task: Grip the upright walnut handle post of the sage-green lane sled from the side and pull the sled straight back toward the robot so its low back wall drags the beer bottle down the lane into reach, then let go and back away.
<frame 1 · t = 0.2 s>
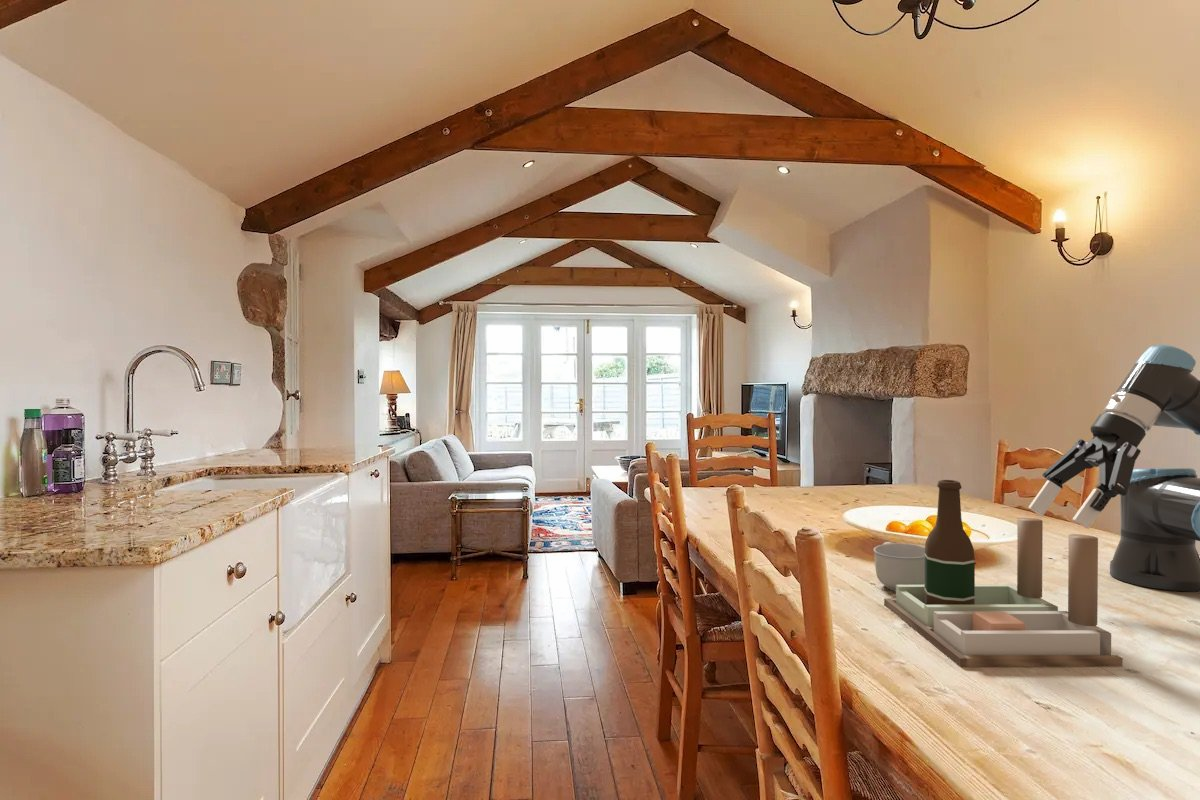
hand: (1056, 517, 121), 16 cm above the table, tool tilted 35°, fingers open, 13 cm apart
beer bottle: (948, 620, 113), resting in bottle sled
bottle sled: (975, 569, 112), point 9 cm above the table, slide at 0.0 cm
terracotta cube: (998, 649, 100), resting in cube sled
lane rails: (991, 631, 107), on the table
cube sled: (1021, 592, 100), point 9 cm above the table, slide at 0.0 cm
teacup: (901, 587, 131), on the table
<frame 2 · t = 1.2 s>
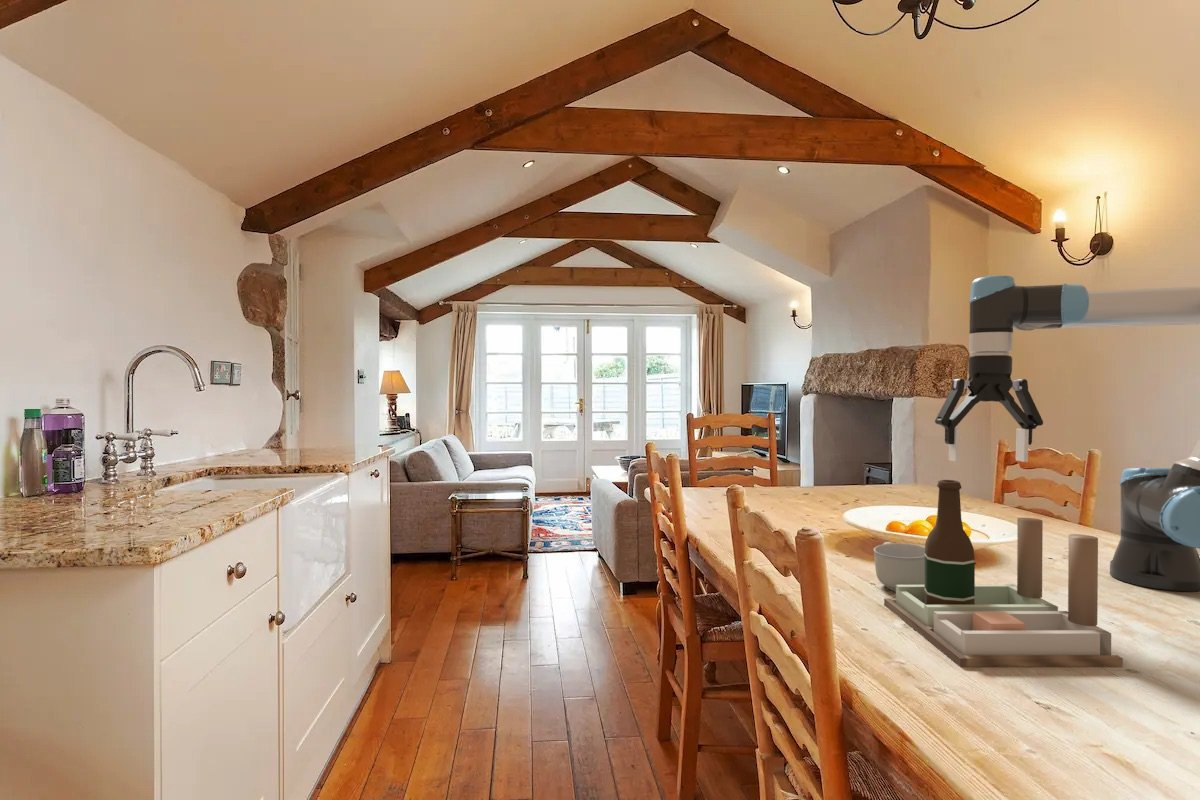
hand: (987, 461, 131), 25 cm above the table, tool pointing down, fingers open, 13 cm apart
nothing on the table moved.
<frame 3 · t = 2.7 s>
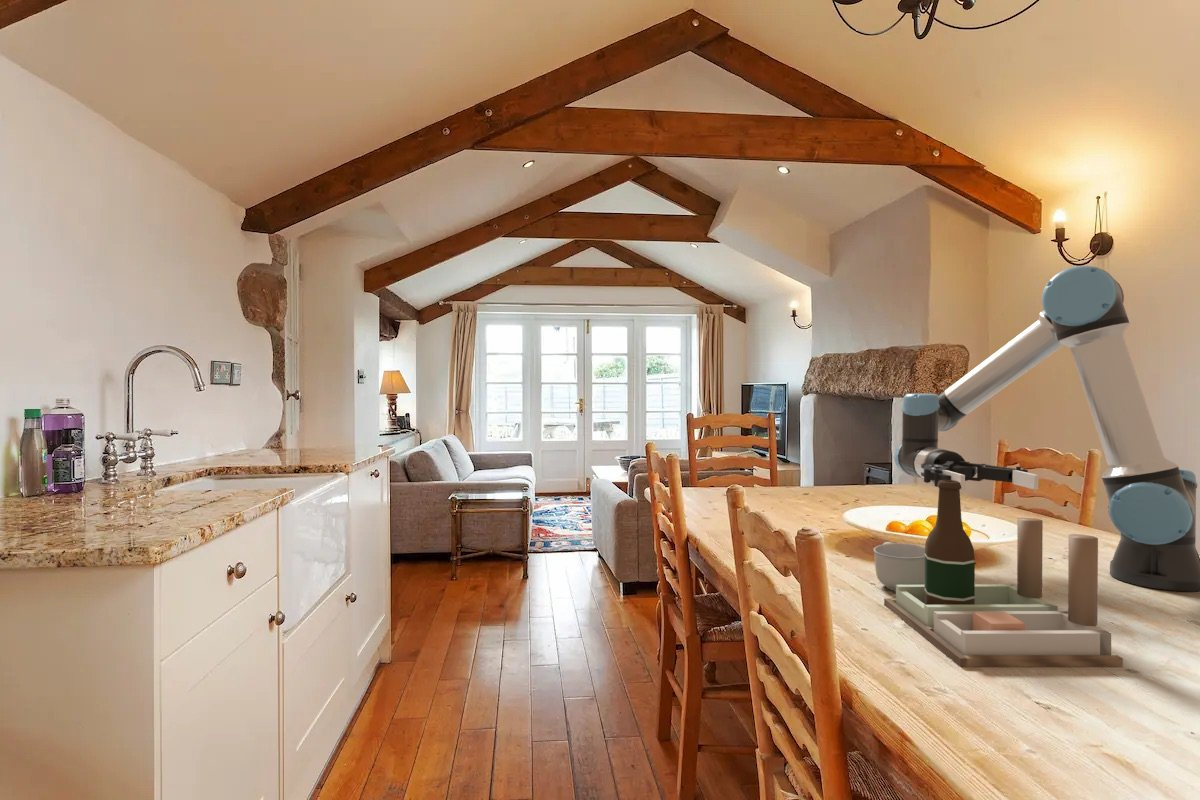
hand: (999, 482, 121), 22 cm above the table, tool horizontal, fingers open, 13 cm apart
nothing on the table moved.
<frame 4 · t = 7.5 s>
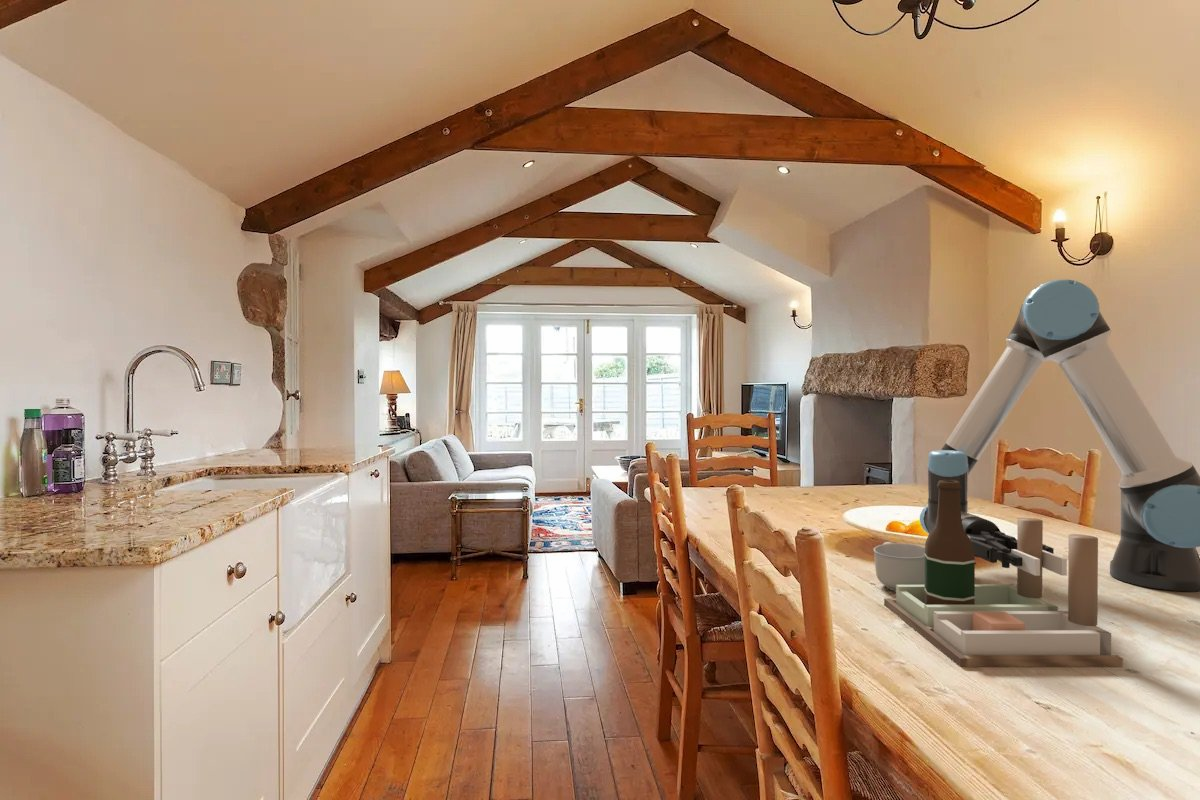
hand: (1050, 567, 107), 10 cm above the table, tool horizontal, fingers closed on bottle sled, 4 cm apart
bottle sled: (975, 569, 112), point 9 cm above the table, slide at 0.0 cm, touching gripper
everything else where it was.
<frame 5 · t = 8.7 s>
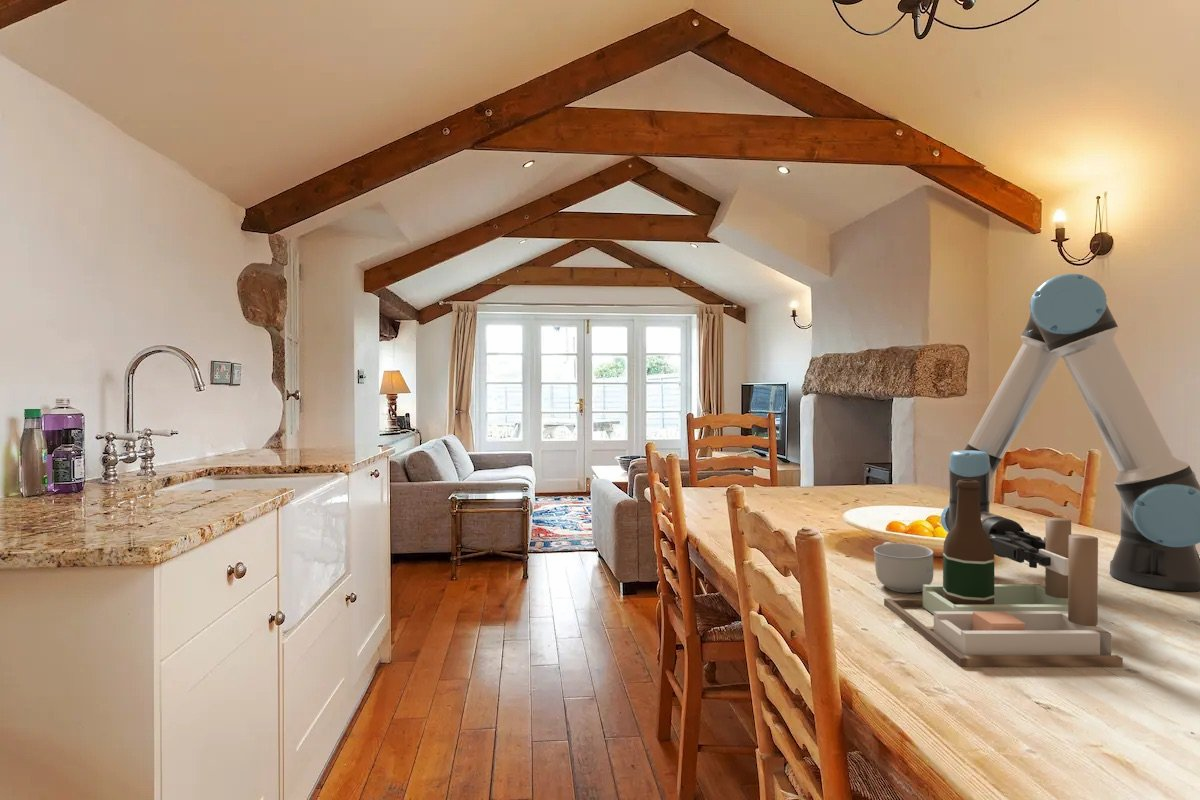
hand: (1080, 567, 107), 10 cm above the table, tool horizontal, fingers closed on bottle sled, 4 cm apart
beer bottle: (968, 620, 113), resting in bottle sled
bottle sled: (1003, 569, 112), point 9 cm above the table, slide at 4.8 cm, touching gripper, beer bottle
everything else where it was.
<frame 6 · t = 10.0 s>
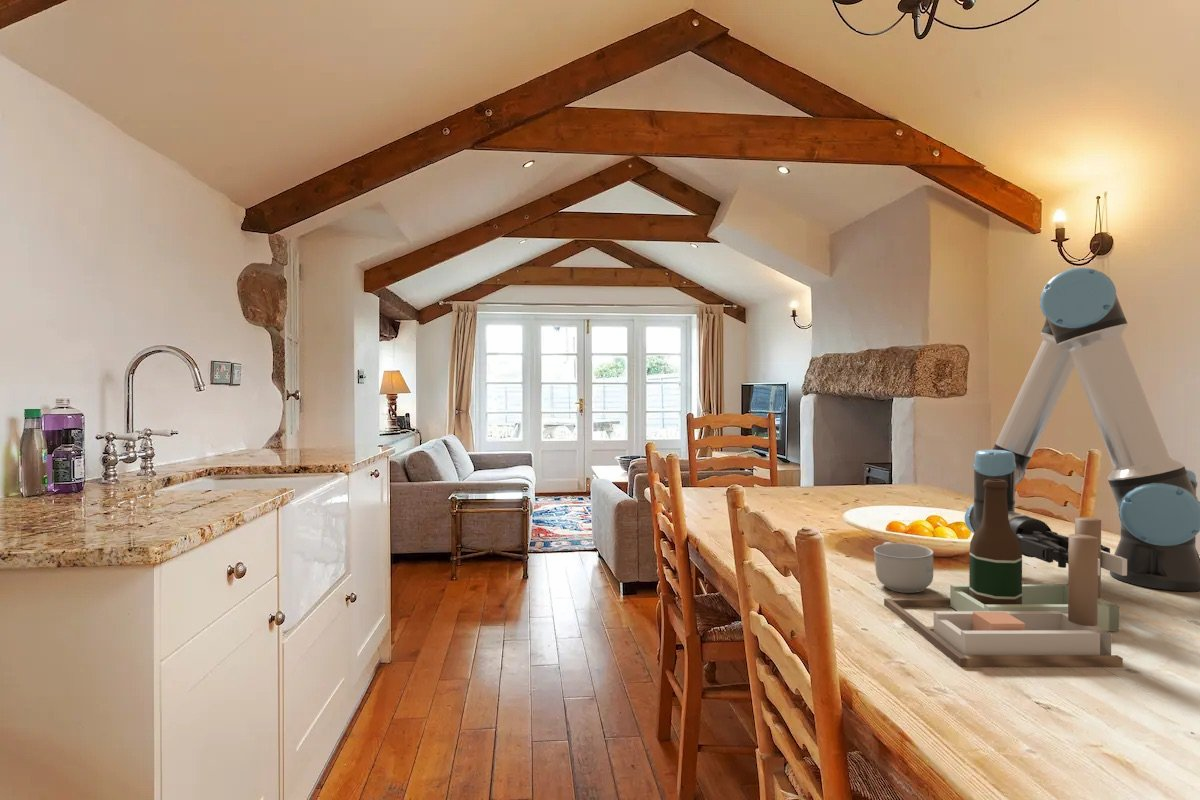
hand: (1110, 567, 107), 10 cm above the table, tool horizontal, fingers closed on bottle sled, 4 cm apart
beer bottle: (995, 619, 113), resting in bottle sled
bottle sled: (1033, 568, 112), point 9 cm above the table, slide at 9.8 cm, touching gripper, beer bottle
everything else where it was.
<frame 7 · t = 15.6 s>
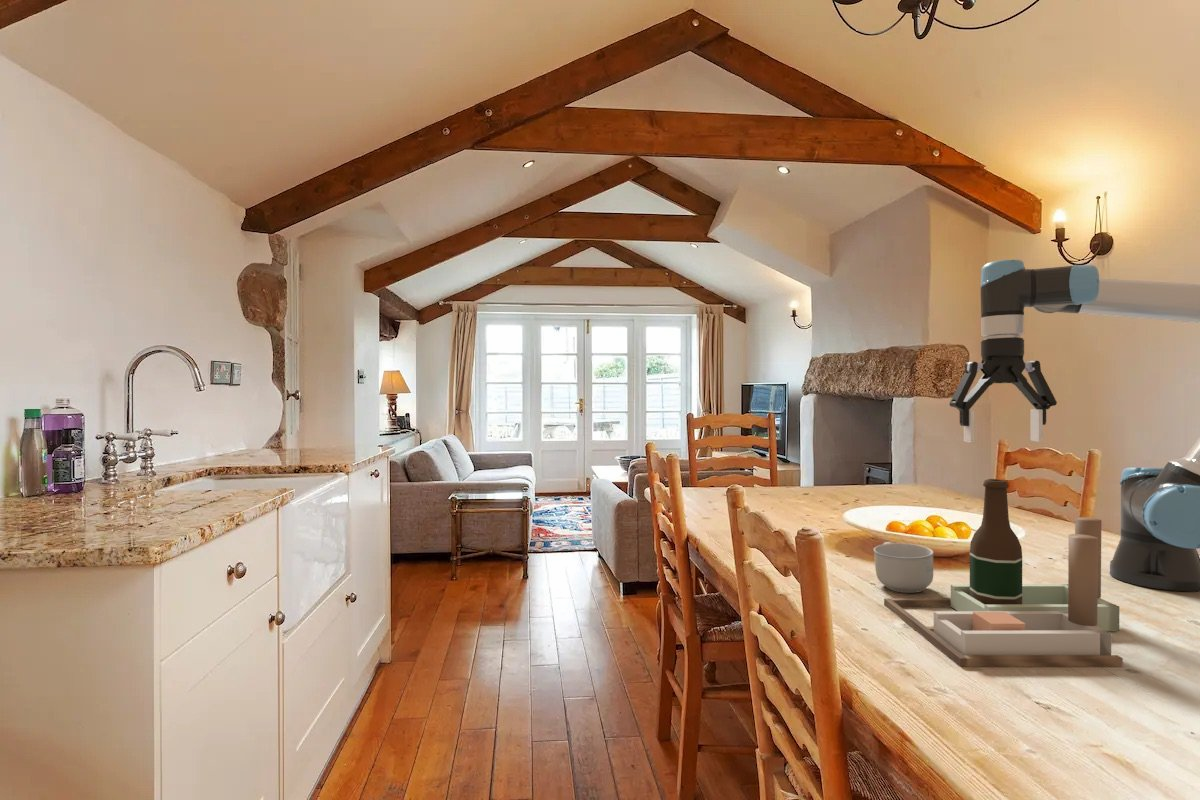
hand: (1002, 441, 134), 29 cm above the table, tool pointing down, fingers open, 13 cm apart
beer bottle: (995, 619, 113), resting in bottle sled
bottle sled: (1033, 568, 112), point 9 cm above the table, slide at 9.8 cm
everything else where it was.
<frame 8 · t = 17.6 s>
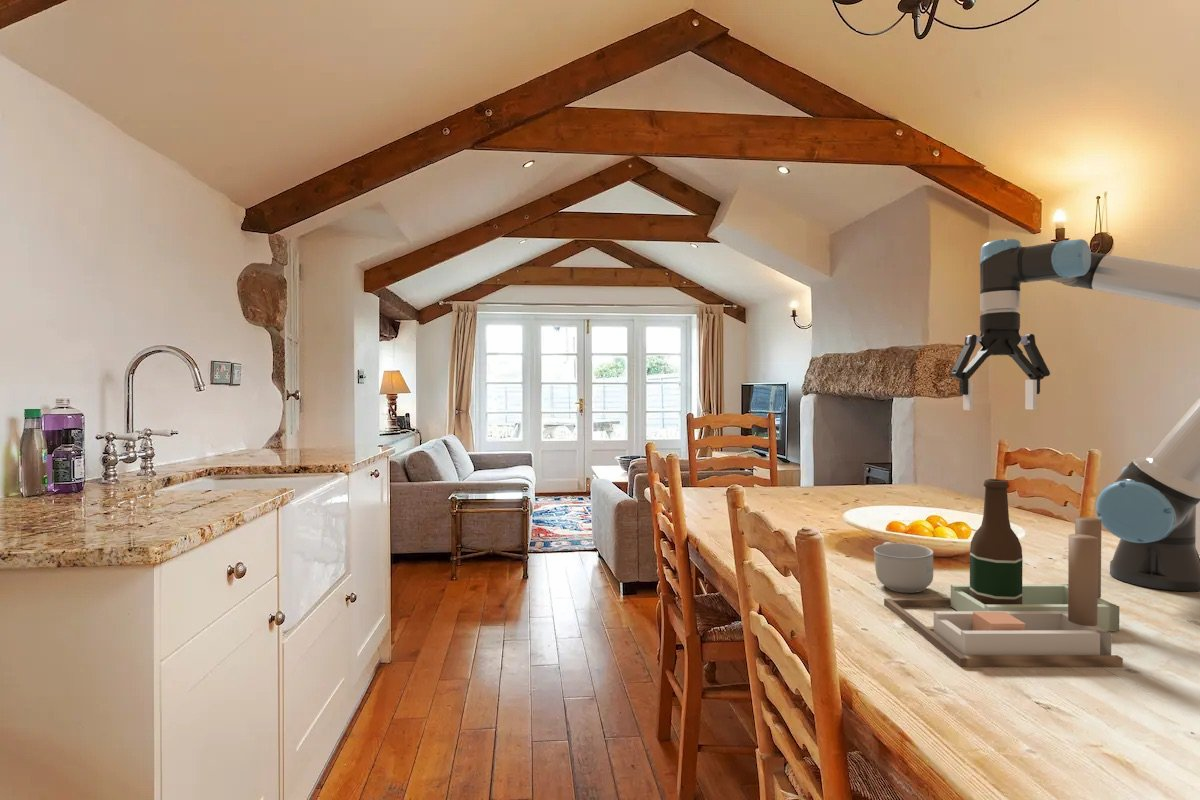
hand: (999, 409, 143), 35 cm above the table, tool pointing down, fingers open, 13 cm apart
nothing on the table moved.
at the end: beer bottle inside the target area (2.1 cm from its centre), resting in bottle sled; beer bottle tilted 0°; bottle sled slide at 9.8 cm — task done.
